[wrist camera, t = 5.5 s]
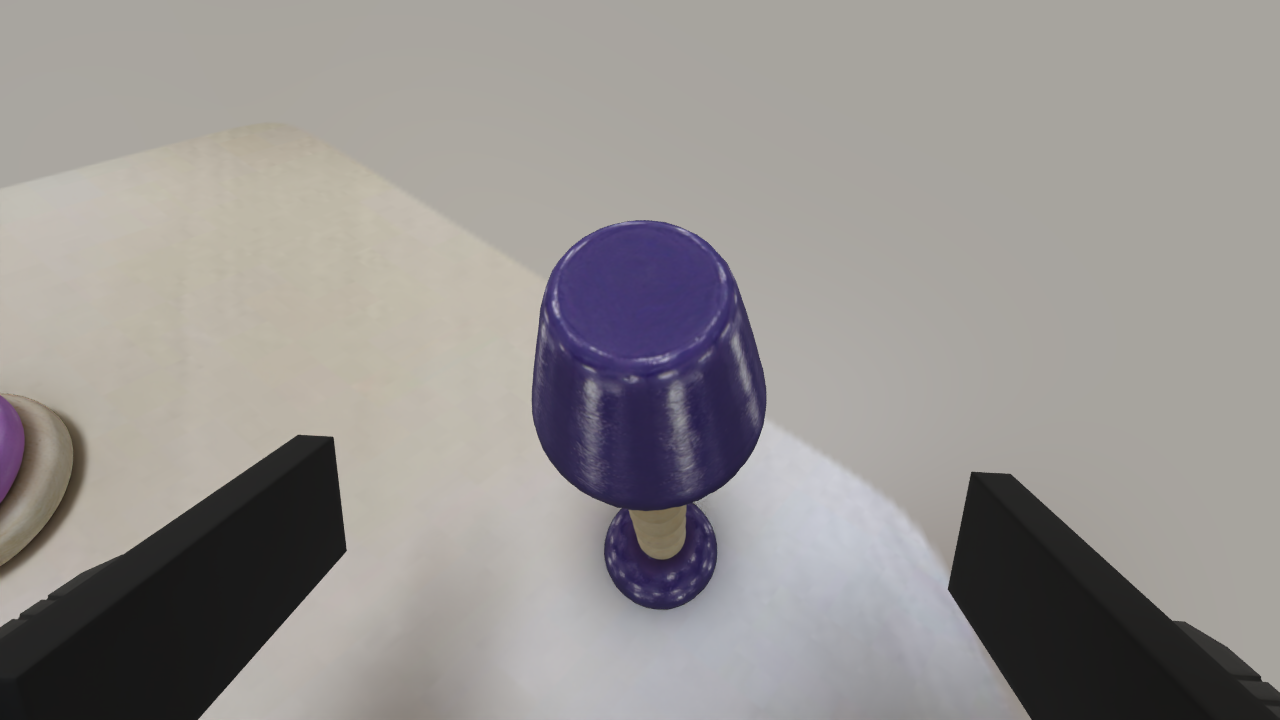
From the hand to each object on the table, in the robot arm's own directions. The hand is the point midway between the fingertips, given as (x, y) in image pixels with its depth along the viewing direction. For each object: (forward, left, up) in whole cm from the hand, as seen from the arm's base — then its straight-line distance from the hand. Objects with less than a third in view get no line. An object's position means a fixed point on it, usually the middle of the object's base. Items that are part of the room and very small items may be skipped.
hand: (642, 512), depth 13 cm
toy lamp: (-1, -2, -12) cm, 12 cm away
